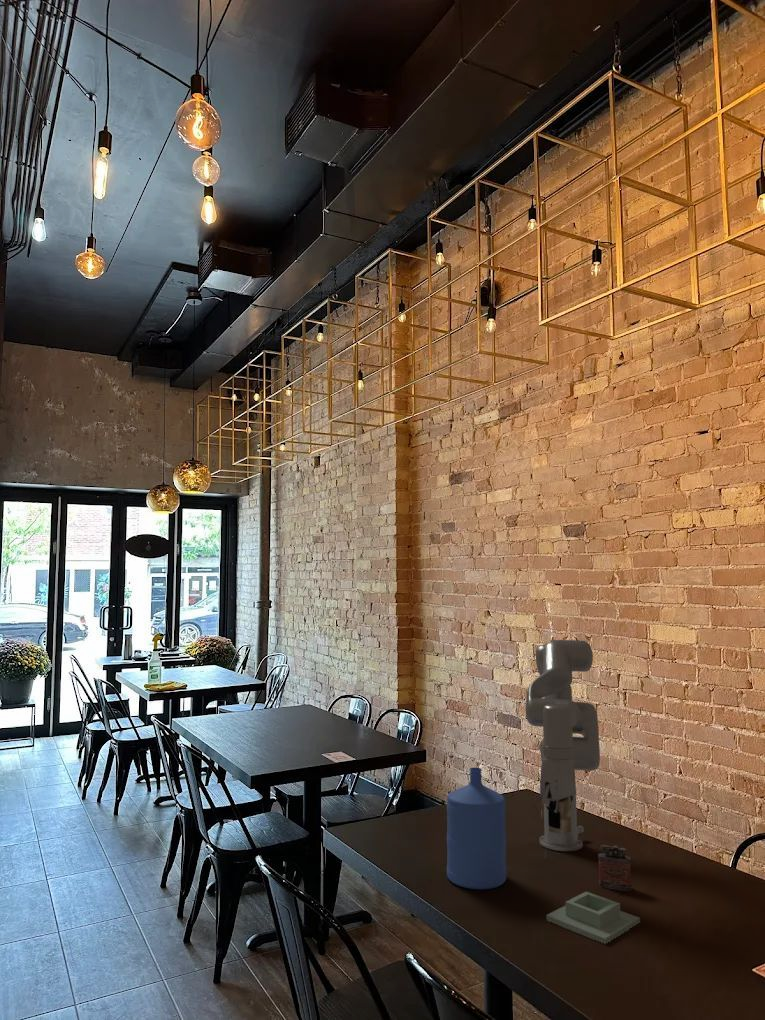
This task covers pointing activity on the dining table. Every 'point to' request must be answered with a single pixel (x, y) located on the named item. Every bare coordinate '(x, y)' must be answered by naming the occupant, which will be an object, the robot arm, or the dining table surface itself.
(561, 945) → the dining table surface
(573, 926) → the slot holder
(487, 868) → the water jug
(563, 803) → the birch peg
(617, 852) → the lighter
